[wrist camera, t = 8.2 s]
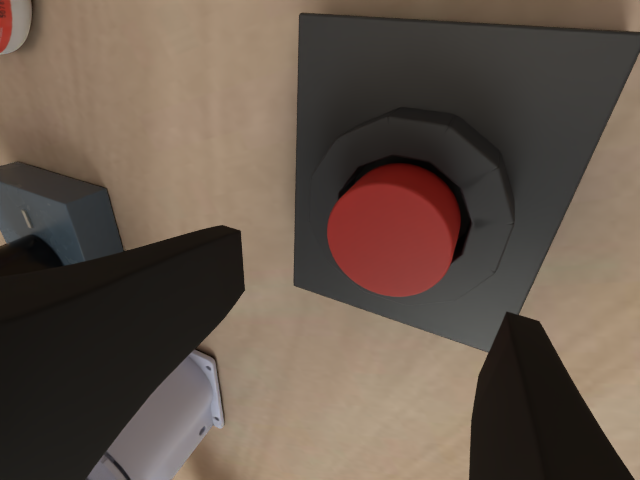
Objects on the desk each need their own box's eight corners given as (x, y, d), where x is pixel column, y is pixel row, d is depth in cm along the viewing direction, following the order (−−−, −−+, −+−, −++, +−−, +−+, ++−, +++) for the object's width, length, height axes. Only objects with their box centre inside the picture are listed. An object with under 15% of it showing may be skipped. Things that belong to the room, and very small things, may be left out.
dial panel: (141, 315, 31) (109, 339, 29) (65, 281, 35) (30, 300, 32) (106, 188, 25) (62, 205, 23) (17, 161, 28) (-30, 173, 26)
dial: (62, 253, 26) (-6, 286, 22) (69, 293, 28) (9, 328, 25) (19, 224, 27) (-53, 252, 23) (30, 266, 29) (-33, 296, 26)
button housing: (500, 324, 17) (498, 390, 14) (311, 264, 20) (274, 307, 17) (627, 32, 11) (676, 32, 8) (324, 15, 14) (270, 9, 11)
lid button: (445, 279, 13) (436, 313, 12) (343, 249, 14) (322, 276, 13) (476, 175, 11) (470, 200, 9) (353, 152, 12) (330, 170, 11)
